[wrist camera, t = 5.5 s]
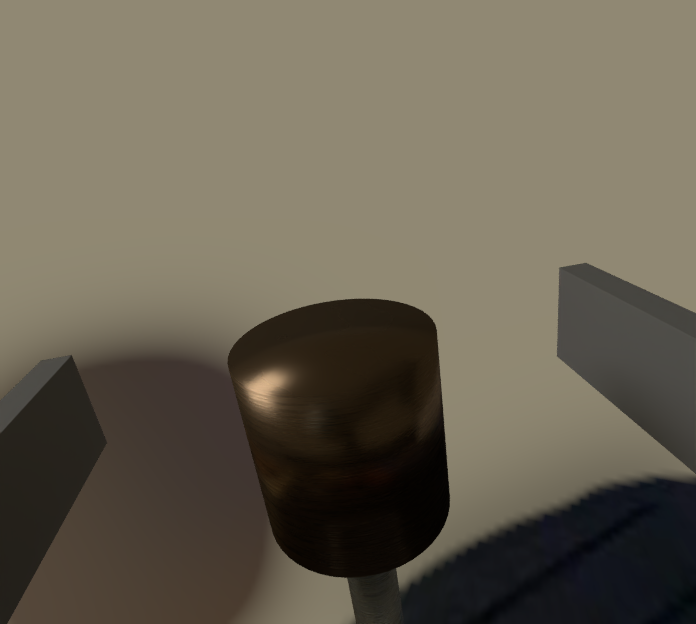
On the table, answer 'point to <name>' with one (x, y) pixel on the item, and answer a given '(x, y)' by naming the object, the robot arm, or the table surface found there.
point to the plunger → (348, 440)
